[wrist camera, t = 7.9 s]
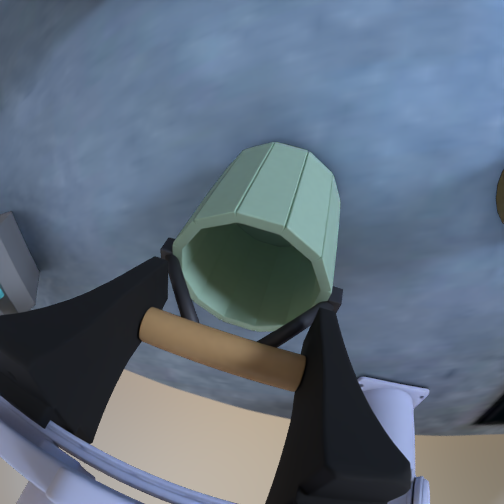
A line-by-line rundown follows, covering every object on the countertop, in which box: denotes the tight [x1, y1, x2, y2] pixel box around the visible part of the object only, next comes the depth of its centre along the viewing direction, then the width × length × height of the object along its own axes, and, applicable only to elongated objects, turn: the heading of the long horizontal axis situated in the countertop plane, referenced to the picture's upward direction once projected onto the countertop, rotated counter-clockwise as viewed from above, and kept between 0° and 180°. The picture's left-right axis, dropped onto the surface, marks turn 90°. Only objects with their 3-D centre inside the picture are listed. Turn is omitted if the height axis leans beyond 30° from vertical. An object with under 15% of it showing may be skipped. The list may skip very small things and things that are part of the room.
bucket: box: [139, 142, 343, 392], centre depth 15 cm, size 7×8×11 cm
